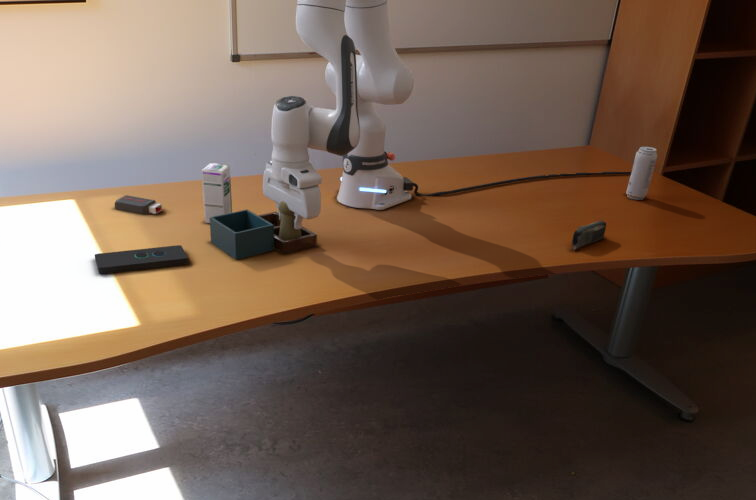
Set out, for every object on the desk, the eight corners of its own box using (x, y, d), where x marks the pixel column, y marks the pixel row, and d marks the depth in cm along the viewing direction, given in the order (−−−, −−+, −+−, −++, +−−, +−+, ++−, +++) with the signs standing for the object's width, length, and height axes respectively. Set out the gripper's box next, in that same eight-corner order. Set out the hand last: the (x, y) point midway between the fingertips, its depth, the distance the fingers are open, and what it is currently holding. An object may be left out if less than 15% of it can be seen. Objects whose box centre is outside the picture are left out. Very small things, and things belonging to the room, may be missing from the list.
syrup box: (225, 225, 194) (223, 171, 186) (204, 223, 194) (200, 168, 187) (232, 218, 198) (230, 164, 191) (211, 215, 199) (209, 162, 192)
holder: (275, 222, 197) (275, 211, 196) (316, 245, 185) (316, 234, 184) (244, 229, 192) (243, 218, 190) (283, 254, 180) (283, 242, 178)
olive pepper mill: (301, 247, 183) (301, 204, 177) (277, 246, 183) (276, 203, 177) (303, 237, 188) (303, 195, 183) (279, 236, 188) (278, 194, 182)
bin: (248, 233, 190) (247, 209, 186) (274, 250, 182) (273, 224, 178) (210, 242, 184) (209, 217, 180) (236, 259, 176) (235, 233, 172)
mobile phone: (599, 218, 198) (569, 229, 189) (609, 221, 196) (580, 233, 187) (595, 235, 200) (565, 248, 191) (605, 239, 199) (576, 251, 189)
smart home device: (188, 257, 171) (98, 267, 164) (188, 264, 172) (99, 274, 165) (181, 244, 178) (94, 253, 171) (181, 250, 179) (95, 260, 172)
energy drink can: (628, 192, 233) (641, 144, 225) (648, 197, 230) (661, 148, 222) (622, 197, 228) (635, 148, 221) (642, 201, 226) (655, 152, 218)
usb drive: (126, 202, 204) (124, 193, 203) (164, 209, 201) (163, 200, 200) (114, 208, 200) (113, 198, 199) (153, 216, 197) (152, 206, 195)
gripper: (255, 159, 181) (257, 213, 188) (303, 183, 168) (303, 240, 175) (277, 155, 184) (277, 208, 192) (326, 179, 171) (324, 235, 178)
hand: (290, 224), depth 183 cm, fingers closed on olive pepper mill, 4 cm apart
